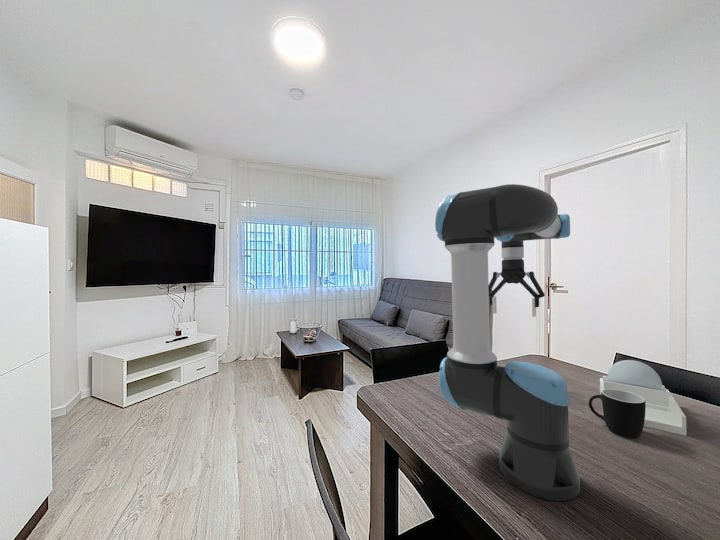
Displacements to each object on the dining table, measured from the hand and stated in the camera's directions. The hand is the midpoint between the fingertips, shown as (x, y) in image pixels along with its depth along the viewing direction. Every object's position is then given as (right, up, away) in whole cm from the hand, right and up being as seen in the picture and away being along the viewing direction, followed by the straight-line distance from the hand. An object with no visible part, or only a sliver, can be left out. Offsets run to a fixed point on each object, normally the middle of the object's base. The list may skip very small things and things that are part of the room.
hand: (513, 314), depth 110 cm
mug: (+13, -28, -30) cm, 43 cm away
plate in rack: (+32, -27, -14) cm, 45 cm away
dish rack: (+28, -27, -19) cm, 44 cm away
